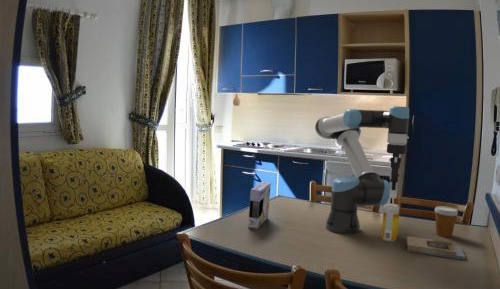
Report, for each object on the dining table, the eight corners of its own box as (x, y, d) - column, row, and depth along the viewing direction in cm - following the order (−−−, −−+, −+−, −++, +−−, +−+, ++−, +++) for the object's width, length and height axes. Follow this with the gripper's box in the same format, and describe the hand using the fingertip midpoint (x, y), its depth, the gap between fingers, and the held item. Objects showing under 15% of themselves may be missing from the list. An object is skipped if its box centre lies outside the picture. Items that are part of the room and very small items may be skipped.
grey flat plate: (421, 253, 150) (422, 250, 150) (420, 243, 161) (420, 240, 161) (465, 260, 145) (465, 256, 145) (460, 249, 156) (460, 246, 156)
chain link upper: (407, 250, 152) (407, 244, 152) (406, 241, 163) (407, 236, 163) (455, 258, 146) (456, 252, 146) (451, 248, 157) (451, 242, 157)
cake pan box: (257, 229, 170) (259, 190, 168) (246, 228, 172) (248, 188, 170) (269, 218, 188) (271, 182, 186) (259, 217, 190) (261, 181, 188)
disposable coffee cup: (458, 239, 169) (461, 212, 168) (435, 237, 171) (437, 210, 170) (452, 232, 178) (454, 207, 177) (429, 230, 180) (432, 205, 179)
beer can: (397, 238, 166) (399, 204, 165) (395, 243, 161) (398, 207, 159) (382, 236, 169) (384, 202, 167) (380, 240, 163) (383, 205, 162)
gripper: (407, 147, 147) (403, 202, 149) (405, 142, 171) (402, 190, 173) (386, 145, 150) (382, 199, 152) (387, 141, 173) (384, 188, 175)
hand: (392, 194), depth 162 cm, fingers open, 13 cm apart
